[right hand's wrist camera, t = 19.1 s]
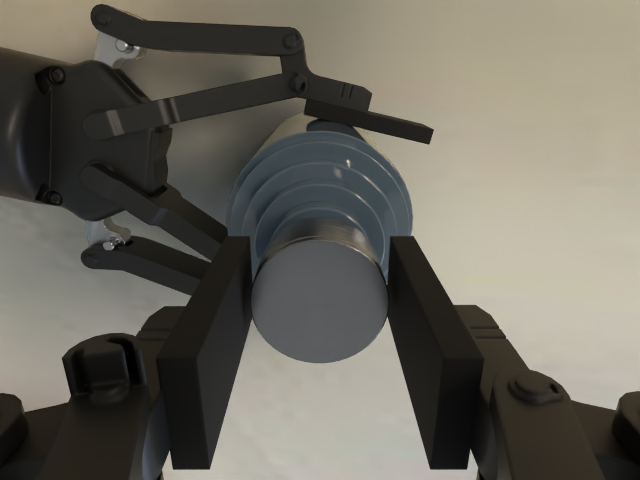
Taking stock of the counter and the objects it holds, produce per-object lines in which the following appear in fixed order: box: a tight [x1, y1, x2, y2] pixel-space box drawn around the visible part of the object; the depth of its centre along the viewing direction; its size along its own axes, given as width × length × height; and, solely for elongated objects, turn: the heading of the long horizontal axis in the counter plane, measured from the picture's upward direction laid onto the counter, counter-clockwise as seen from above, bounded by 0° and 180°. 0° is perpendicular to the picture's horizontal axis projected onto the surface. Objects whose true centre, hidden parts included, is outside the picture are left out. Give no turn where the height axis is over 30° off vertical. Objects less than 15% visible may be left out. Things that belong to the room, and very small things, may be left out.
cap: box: [250, 217, 389, 363], centre depth 14 cm, size 4×4×2 cm
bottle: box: [227, 112, 413, 283], centre depth 22 cm, size 8×8×18 cm
